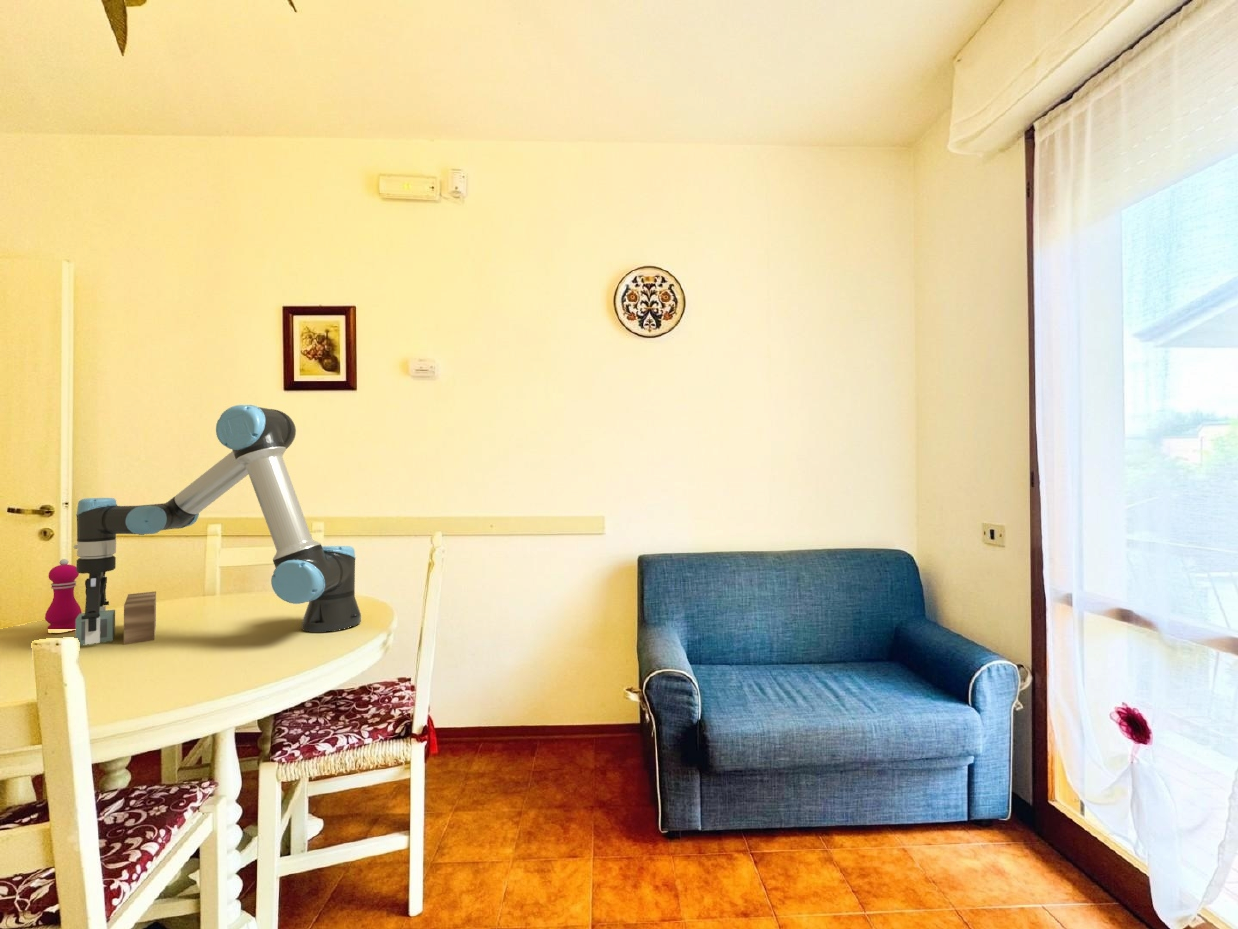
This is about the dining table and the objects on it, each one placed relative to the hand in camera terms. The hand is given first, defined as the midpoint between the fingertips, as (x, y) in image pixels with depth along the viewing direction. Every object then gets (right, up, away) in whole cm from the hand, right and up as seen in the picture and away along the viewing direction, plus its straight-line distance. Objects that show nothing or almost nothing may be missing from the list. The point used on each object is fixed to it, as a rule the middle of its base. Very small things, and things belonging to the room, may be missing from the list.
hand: (95, 637), depth 146 cm
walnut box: (+8, -1, +5) cm, 9 cm away
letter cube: (0, -1, 0) cm, 1 cm away
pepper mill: (-17, -1, +8) cm, 19 cm away
